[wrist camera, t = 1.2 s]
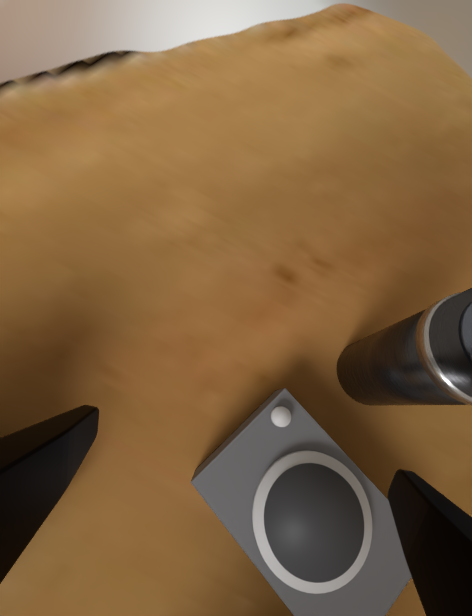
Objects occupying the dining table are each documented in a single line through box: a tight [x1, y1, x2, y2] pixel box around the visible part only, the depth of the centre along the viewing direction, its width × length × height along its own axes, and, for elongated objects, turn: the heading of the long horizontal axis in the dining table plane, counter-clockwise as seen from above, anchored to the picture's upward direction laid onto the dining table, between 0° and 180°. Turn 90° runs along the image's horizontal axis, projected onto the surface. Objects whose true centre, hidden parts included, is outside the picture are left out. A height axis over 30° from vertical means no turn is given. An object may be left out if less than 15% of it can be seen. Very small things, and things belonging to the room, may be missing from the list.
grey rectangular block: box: [191, 388, 412, 616], centre depth 18 cm, size 12×8×4 cm, turn 42°
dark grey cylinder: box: [337, 288, 472, 405], centre depth 18 cm, size 5×5×12 cm
